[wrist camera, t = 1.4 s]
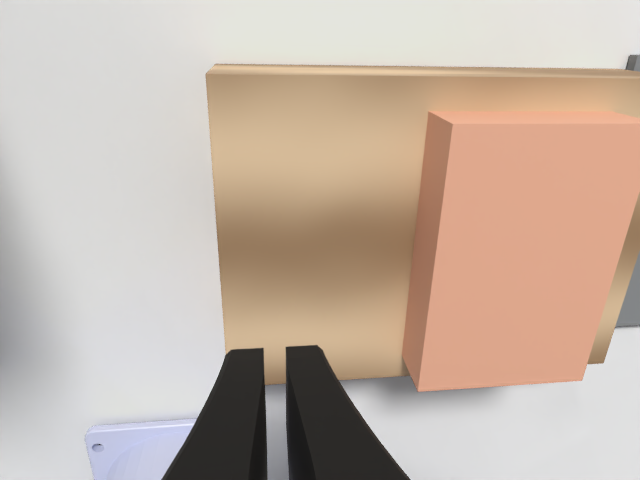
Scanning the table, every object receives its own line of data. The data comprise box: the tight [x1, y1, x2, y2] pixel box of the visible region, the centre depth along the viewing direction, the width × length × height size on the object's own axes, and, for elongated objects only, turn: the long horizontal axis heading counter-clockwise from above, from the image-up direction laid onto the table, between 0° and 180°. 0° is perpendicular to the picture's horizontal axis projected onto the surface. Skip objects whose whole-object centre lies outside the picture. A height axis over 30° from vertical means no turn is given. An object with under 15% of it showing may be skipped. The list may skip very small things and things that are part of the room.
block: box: [402, 111, 640, 392], centre depth 16 cm, size 9×6×2 cm, turn 179°
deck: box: [206, 64, 640, 385], centre depth 18 cm, size 11×15×4 cm
